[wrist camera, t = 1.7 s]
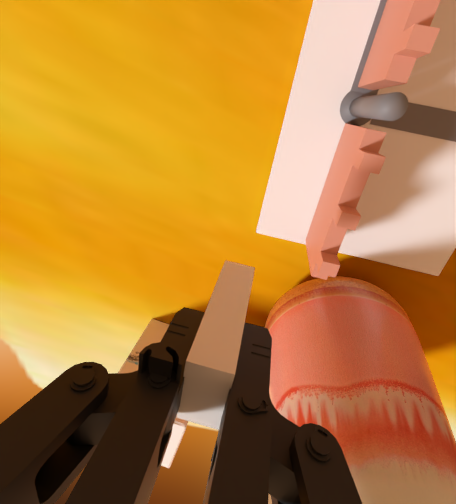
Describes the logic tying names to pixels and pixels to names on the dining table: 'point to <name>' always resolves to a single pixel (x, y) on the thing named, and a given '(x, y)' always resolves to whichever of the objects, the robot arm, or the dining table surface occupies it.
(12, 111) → the dining table surface
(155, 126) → the dining table surface
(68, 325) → the dining table surface
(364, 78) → the fixed fence panel
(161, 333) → the ink box
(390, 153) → the card
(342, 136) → the folding fence panel
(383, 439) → the vase
